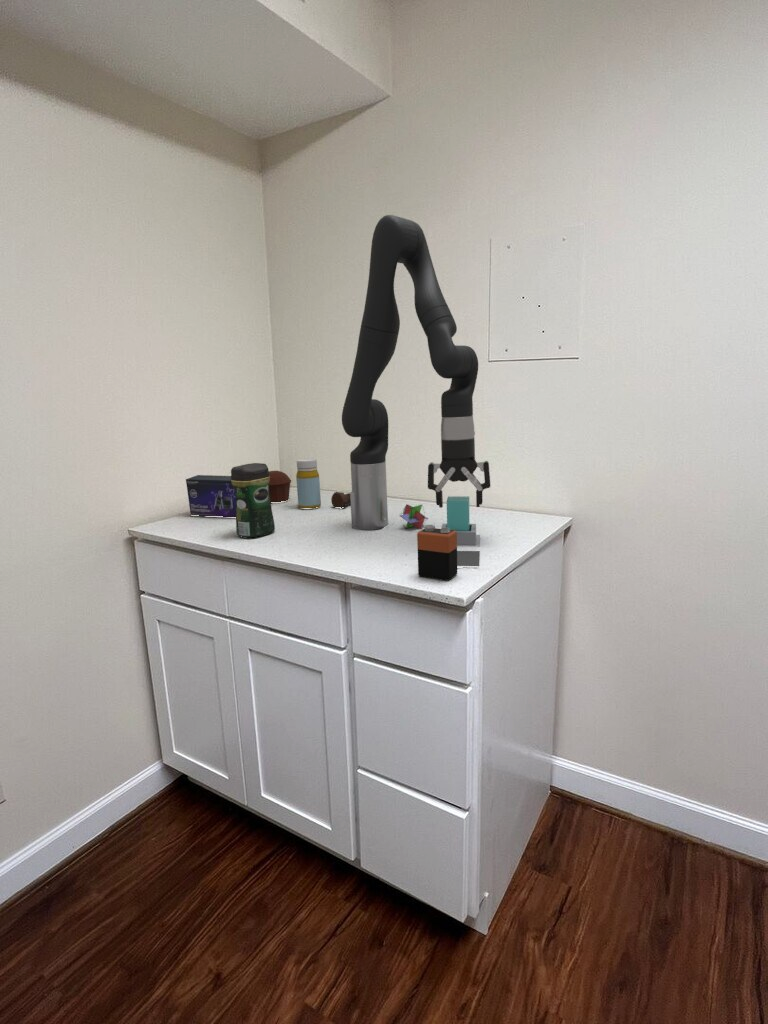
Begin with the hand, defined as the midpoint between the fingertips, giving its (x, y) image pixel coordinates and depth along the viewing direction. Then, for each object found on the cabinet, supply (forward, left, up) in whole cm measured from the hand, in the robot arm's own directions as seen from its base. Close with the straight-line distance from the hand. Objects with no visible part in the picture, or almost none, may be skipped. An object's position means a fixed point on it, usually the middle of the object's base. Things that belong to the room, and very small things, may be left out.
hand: (459, 506), depth 134 cm
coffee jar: (-53, +6, -9) cm, 54 cm away
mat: (0, -14, -9) cm, 16 cm away
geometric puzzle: (-12, +12, -9) cm, 19 cm away
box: (-73, +27, -9) cm, 79 cm away
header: (0, 0, -9) cm, 9 cm away
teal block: (0, 0, -8) cm, 8 cm away
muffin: (-63, +48, -9) cm, 80 cm away
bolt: (-35, +43, -9) cm, 56 cm away
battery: (-3, -24, -9) cm, 26 cm away
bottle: (-48, +38, -9) cm, 62 cm away
